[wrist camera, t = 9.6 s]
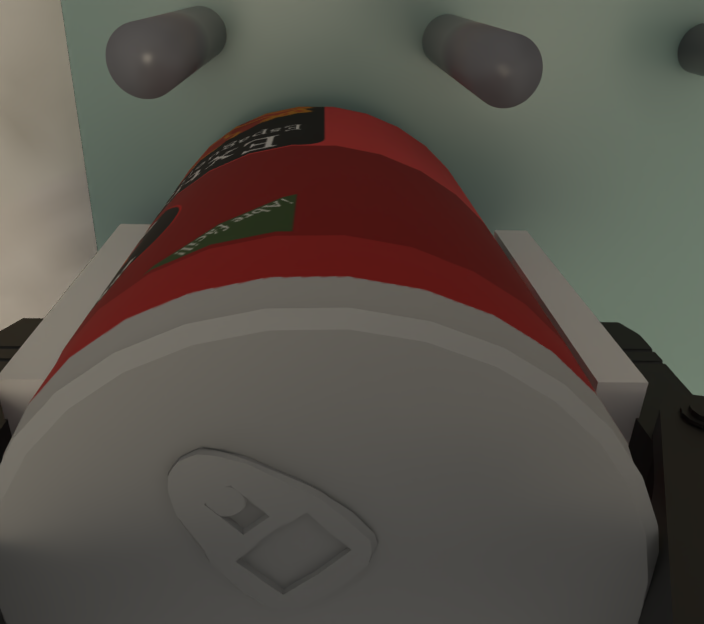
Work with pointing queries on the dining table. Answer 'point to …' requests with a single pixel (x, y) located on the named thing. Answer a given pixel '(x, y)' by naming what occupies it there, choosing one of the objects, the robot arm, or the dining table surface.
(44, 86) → the dining table surface
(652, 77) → the rack
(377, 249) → the canned food
